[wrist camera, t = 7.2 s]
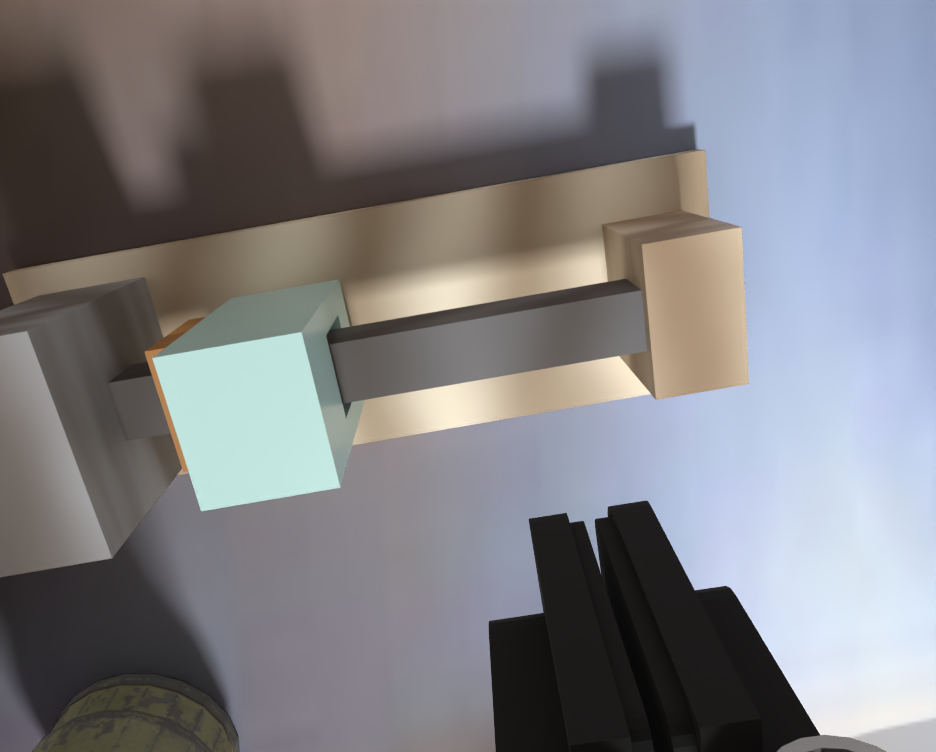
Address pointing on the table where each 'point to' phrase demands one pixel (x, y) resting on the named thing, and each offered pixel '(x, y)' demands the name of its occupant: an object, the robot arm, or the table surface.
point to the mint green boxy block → (261, 397)
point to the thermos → (141, 719)
